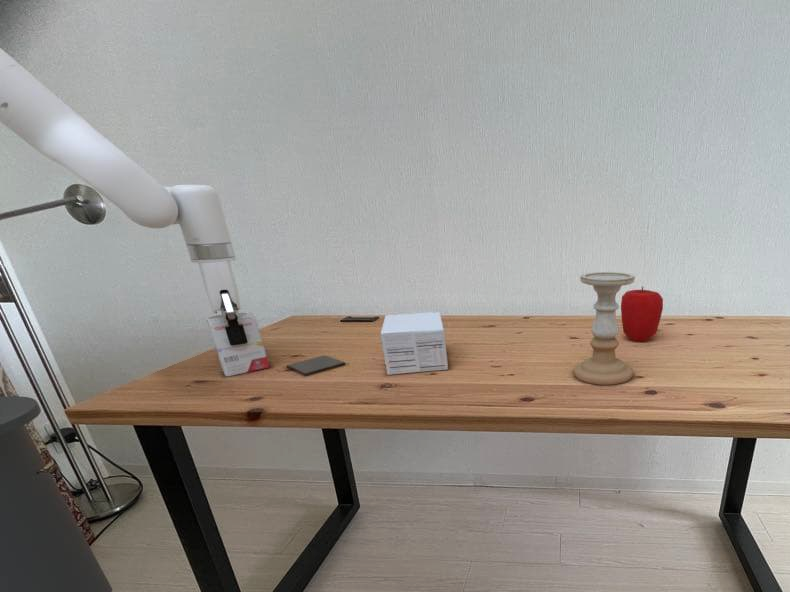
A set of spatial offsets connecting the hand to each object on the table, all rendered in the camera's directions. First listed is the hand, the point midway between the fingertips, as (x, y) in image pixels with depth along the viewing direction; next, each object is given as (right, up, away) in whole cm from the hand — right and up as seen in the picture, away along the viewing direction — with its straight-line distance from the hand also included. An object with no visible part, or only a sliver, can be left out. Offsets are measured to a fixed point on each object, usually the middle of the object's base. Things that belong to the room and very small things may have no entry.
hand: (237, 340), depth 98 cm
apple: (+91, +3, +21) cm, 94 cm away
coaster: (+15, -5, +5) cm, 16 cm away
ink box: (0, -6, +3) cm, 7 cm away
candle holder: (+79, -8, -3) cm, 79 cm away
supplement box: (+37, -4, +7) cm, 38 cm away
